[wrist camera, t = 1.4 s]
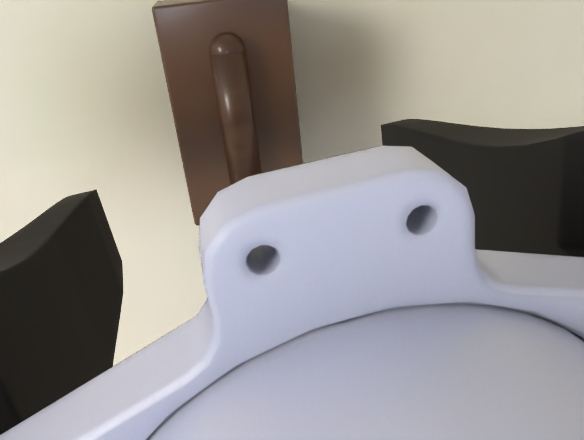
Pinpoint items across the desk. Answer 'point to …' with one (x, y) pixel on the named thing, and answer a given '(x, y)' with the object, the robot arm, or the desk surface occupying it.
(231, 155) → the brown block with peg
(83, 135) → the desk surface
